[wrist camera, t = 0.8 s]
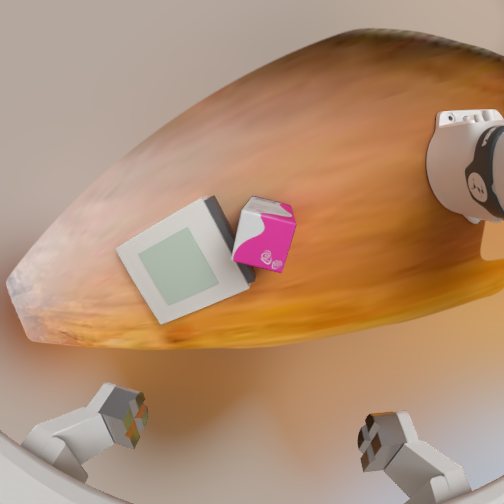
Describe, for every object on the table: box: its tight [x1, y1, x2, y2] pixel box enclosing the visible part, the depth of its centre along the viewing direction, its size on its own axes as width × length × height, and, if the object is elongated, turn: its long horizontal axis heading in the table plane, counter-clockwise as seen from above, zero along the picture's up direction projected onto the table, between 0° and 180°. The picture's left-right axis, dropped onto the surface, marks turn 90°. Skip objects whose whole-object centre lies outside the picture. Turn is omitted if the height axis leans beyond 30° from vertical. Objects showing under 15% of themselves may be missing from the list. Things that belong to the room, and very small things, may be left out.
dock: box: [115, 196, 256, 325], centre depth 41 cm, size 17×14×3 cm
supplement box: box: [231, 196, 296, 273], centre depth 34 cm, size 6×6×12 cm
